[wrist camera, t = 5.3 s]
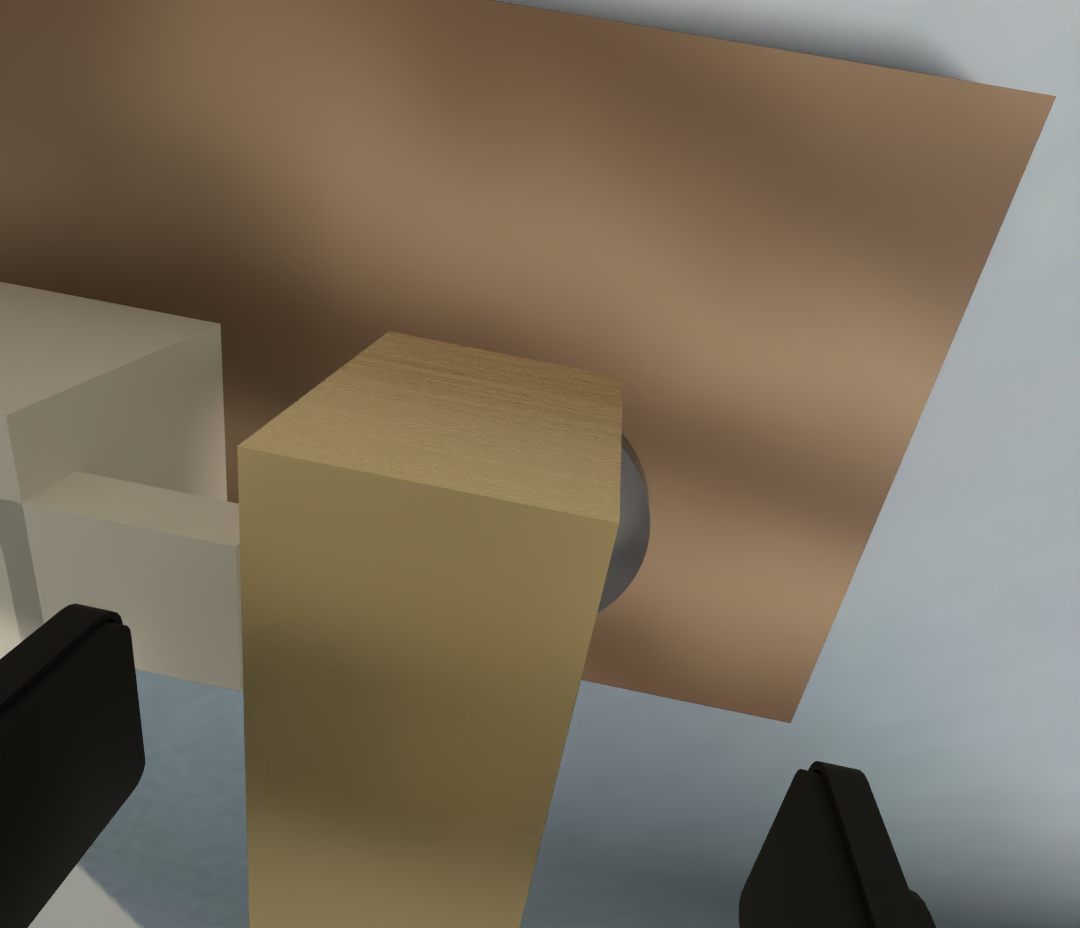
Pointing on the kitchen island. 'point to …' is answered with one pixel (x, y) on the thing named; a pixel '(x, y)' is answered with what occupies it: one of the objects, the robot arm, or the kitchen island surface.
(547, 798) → the t key
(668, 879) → the kitchen island surface
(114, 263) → the panel
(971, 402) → the kitchen island surface
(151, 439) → the cream stepped block
